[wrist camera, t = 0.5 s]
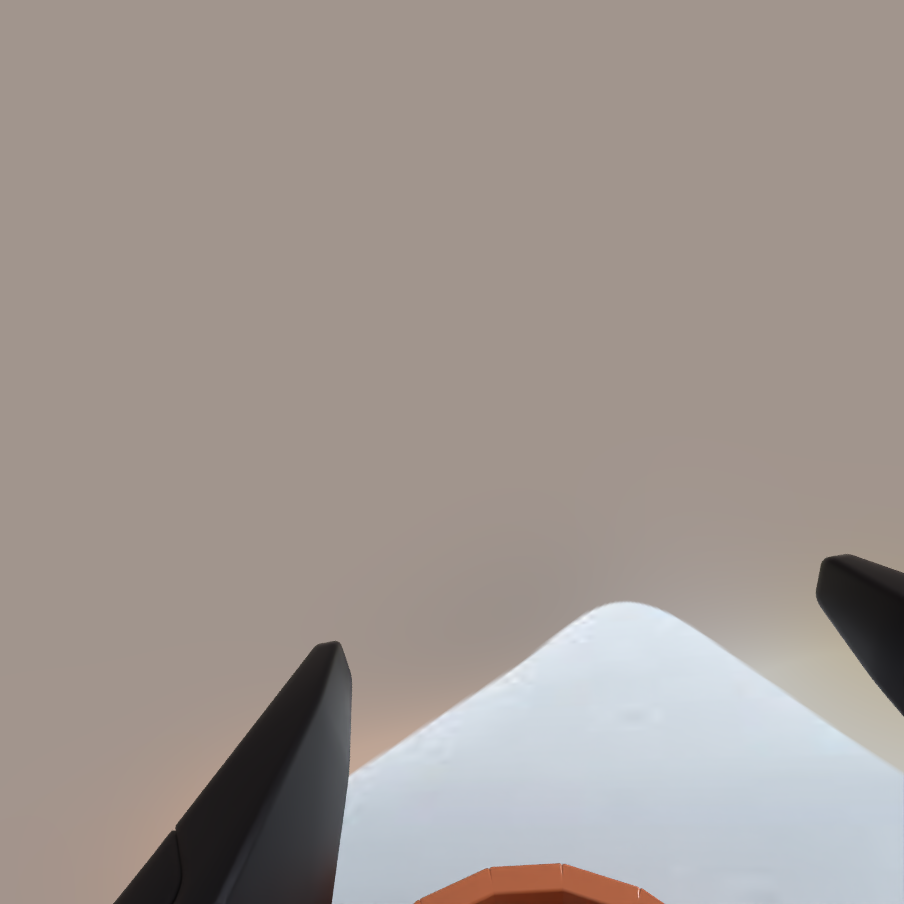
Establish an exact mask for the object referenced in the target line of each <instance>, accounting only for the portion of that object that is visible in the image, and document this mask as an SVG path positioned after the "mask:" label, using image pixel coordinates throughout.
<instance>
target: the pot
mask: <svg viewBox="0 0 904 904" xmlns="http://www.w3.org/2000/svg"><path fill="white" fill-rule="evenodd" d="M414 904H664V903H663V902H661V901H660V900H658V899H657V898H655V897H654V896H652V895H651V894H649V893H648V892H646V891H645V890H644V889H642V888H641V889H640V888H639V887H636V886H633V885H630V884H627V883H624V882H621V881H617V880H614V879H611V878H608V877H605V876H601V875H598V874H595V873H592V872H589V871H586V870H582V869H579V868H576V867H573V866H570V865H567V864H563V865H561V864H560V863H557V864H539V865H520V866H502V867H491V868H490V869H488V868H486V869H484V870H482V871H480V872H477V873H475V874H473V875H471V876H469V877H467V878H464V879H462V880H460V881H458V882H456V883H453V884H451V885H449V886H447V887H445V888H443V889H440V890H438V891H436V892H434V893H432V894H430V895H427V896H425V897H423V898H421V899H420V901H419V900H417V901H416V902H415V903H414Z"/></svg>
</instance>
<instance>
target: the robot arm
mask: <svg viewBox="0 0 904 904" xmlns="http://www.w3.org/2000/svg"><path fill="white" fill-rule="evenodd" d="M816 597H817V601H818V603H819V605H820V607H821V608H822V609H823V611H824V612H825V614H826V615H827V617H828V618H829V619H830V621H831V622H832V624H833V625H834V626H835V628H836V629H837V631H838V632H839V633H840V635H841V636H842V638H843V639H844V640H845V642H846V643H847V645H848V646H849V647H850V649H851V650H852V652H853V653H854V654H855V656H856V657H857V659H858V660H859V661H860V663H861V664H862V666H863V667H864V668H865V670H866V671H867V672H868V674H869V675H870V676H871V678H872V679H873V680H874V681H875V683H876V684H877V685H878V687H879V688H880V689H881V690H882V692H883V693H884V694H885V695H886V696H887V698H889V700H890V701H891V702H892V703H893V704H894V706H895V707H896V708H897V709H898V710H899V711H900V713H901V714H902V715H903V716H904V573H902V572H899V571H896V570H894V569H891V568H888V567H885V566H882V565H879V564H877V563H874V562H871V561H868V560H865V559H862V558H859V557H857V556H853V555H849V554H844V555H838V556H832V557H828V558H825V559H824V560H823V561H822V563H821V567H820V572H819V578H818V583H817V588H816ZM351 700H352V678H351V673H350V669H349V666H348V663H347V661H346V657H345V654H344V651H343V648H342V646H341V644H340V643H339V642H337V641H332V642H327V643H321V644H318V645H316V646H315V647H314V648H313V649H312V651H311V652H310V653H309V655H308V656H307V657H306V658H305V660H304V661H303V662H302V664H301V665H300V666H299V668H298V669H297V670H296V671H295V673H294V674H293V675H292V677H291V678H290V679H289V680H288V682H287V683H286V684H285V686H284V687H283V688H282V689H281V691H280V692H279V693H278V695H277V696H276V697H275V698H274V700H273V701H272V702H271V704H270V705H269V706H268V707H267V709H266V710H265V711H264V713H263V714H262V715H261V716H260V718H259V719H258V720H257V722H256V723H255V724H254V725H253V727H252V728H251V729H250V731H249V732H248V733H247V734H246V736H245V737H244V738H243V740H242V741H241V742H240V743H239V745H238V746H237V747H236V749H235V750H234V751H233V753H232V754H231V755H230V756H229V758H228V759H227V760H226V762H225V763H224V764H223V765H222V767H221V768H220V769H219V770H218V772H217V773H216V775H215V776H214V777H213V778H212V780H211V781H210V782H209V783H208V785H207V786H206V787H205V789H204V790H203V791H202V792H201V794H200V795H199V796H198V798H197V799H196V800H195V801H194V803H193V804H192V805H191V807H190V808H189V809H188V810H187V812H186V813H185V814H184V816H183V817H182V818H181V819H180V821H179V822H178V824H177V825H176V828H175V829H176V831H171V832H170V833H169V835H168V836H167V837H166V838H165V840H164V841H163V842H162V844H161V845H160V846H159V847H158V849H157V850H156V851H155V853H154V854H153V855H152V856H151V858H150V859H149V860H148V862H147V863H146V864H145V865H144V867H143V868H142V869H141V870H140V871H139V873H138V874H137V875H136V876H135V878H134V879H133V880H132V881H131V883H130V884H129V885H128V887H127V888H126V889H125V890H124V891H123V892H122V894H121V895H120V896H119V898H118V899H117V900H116V901H115V902H114V903H113V904H332V896H333V889H334V882H335V874H336V867H337V860H338V852H339V845H340V838H341V830H342V823H343V816H344V808H345V801H346V794H347V786H348V777H349V762H350V734H351Z"/></svg>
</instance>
